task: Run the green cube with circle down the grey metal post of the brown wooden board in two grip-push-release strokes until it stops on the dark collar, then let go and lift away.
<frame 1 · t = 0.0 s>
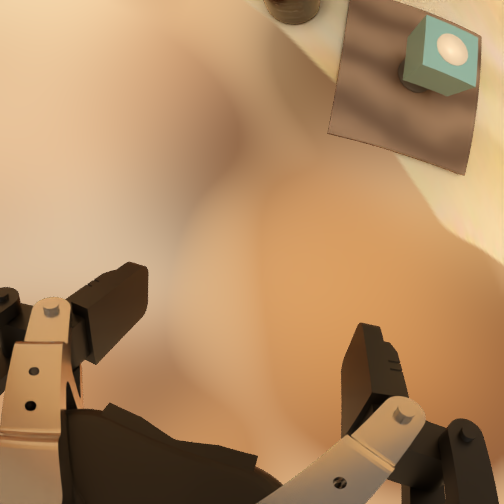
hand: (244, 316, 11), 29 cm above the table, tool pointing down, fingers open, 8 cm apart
brown wooden board: (410, 78, 30), on the table
green cube with circle: (439, 58, 20), point 11 cm above the table, slide at 4.0 cm
supplement bottle: (293, 4, 30), on the table
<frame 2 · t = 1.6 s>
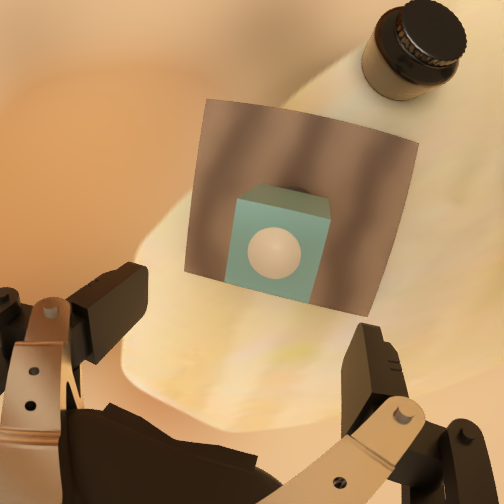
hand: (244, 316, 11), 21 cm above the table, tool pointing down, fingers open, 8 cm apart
brown wooden board: (295, 206, 30), on the table
green cube with circle: (281, 236, 21), point 11 cm above the table, slide at 4.0 cm
supplement bottle: (394, 69, 24), on the table
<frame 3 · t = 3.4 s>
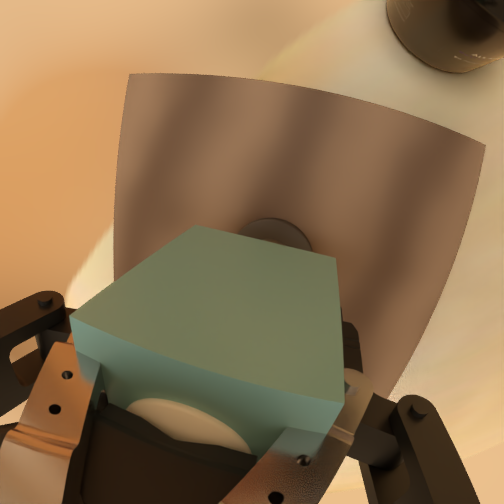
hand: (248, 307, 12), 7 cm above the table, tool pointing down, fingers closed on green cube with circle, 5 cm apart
brown wooden board: (276, 246, 19), on the table
green cube with circle: (226, 358, 9), point 11 cm above the table, slide at 4.0 cm, touching gripper
supplement bottle: (437, 25, 12), on the table
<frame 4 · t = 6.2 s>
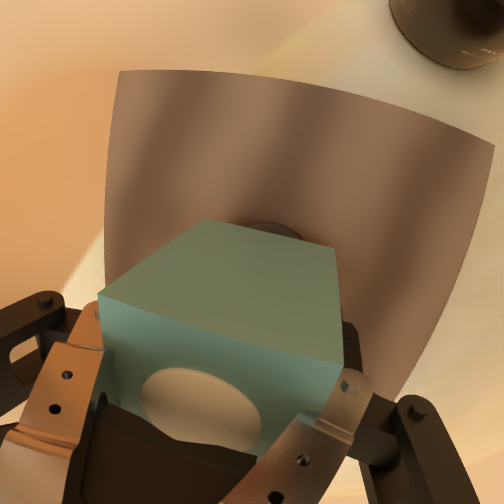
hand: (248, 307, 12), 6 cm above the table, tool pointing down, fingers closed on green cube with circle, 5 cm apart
brown wooden board: (274, 251, 18), on the table
green cube with circle: (234, 339, 10), point 9 cm above the table, slide at 1.9 cm, touching gripper
supplement bottle: (442, 19, 11), on the table
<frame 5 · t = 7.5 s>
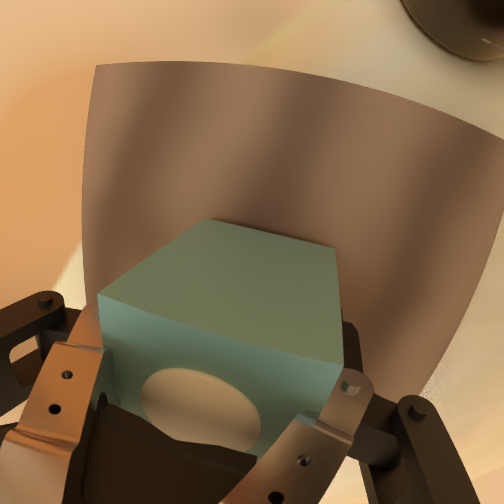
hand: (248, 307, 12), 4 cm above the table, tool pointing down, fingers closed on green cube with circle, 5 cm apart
brown wooden board: (268, 265, 16), on the table
green cube with circle: (234, 339, 10), point 6 cm above the table, slide at -0.2 cm, touching gripper
supplement bottle: (455, 6, 9), on the table
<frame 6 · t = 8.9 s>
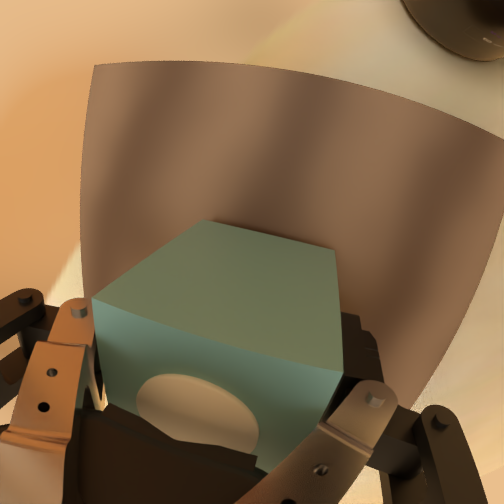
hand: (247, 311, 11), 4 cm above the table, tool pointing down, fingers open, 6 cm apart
brown wooden board: (267, 266, 15), on the table
green cube with circle: (232, 343, 10), point 7 cm above the table, slide at -0.1 cm
supplement bottle: (456, 6, 9), on the table
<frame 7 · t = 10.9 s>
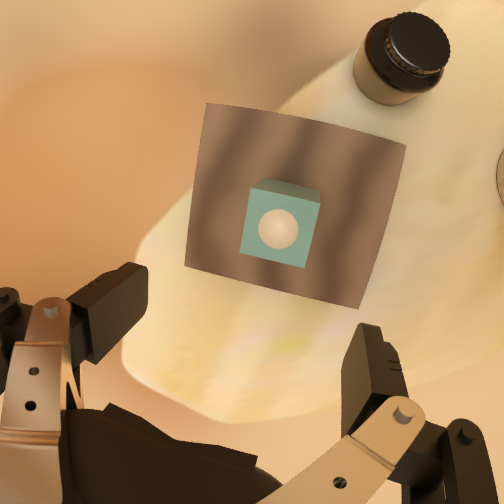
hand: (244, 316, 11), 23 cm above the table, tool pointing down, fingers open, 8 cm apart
brown wooden board: (289, 204, 32), on the table
green cube with circle: (283, 218, 26), point 7 cm above the table, slide at -0.1 cm
supplement bottle: (384, 75, 26), on the table
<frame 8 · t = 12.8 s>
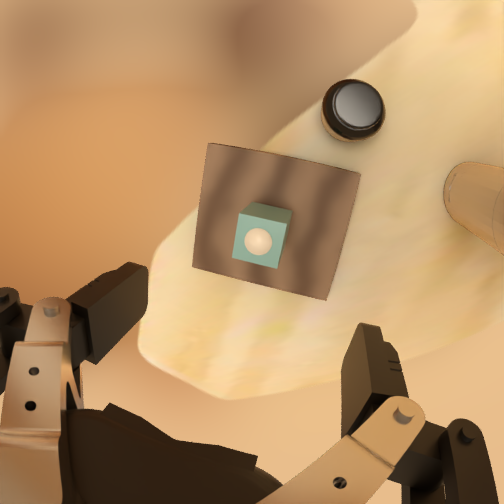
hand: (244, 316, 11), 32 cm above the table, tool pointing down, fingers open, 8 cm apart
brown wooden board: (272, 220, 43), on the table
green cube with circle: (263, 233, 37), point 7 cm above the table, slide at -0.1 cm
supplement bottle: (347, 116, 36), on the table
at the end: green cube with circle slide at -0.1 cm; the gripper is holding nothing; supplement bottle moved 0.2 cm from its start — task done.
